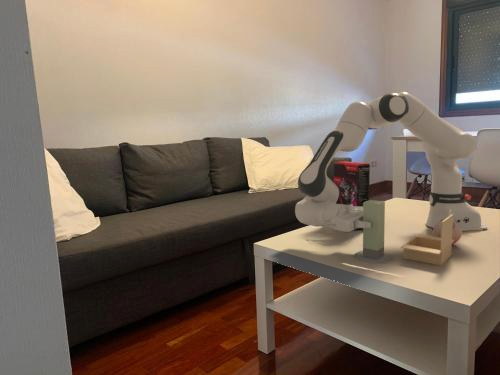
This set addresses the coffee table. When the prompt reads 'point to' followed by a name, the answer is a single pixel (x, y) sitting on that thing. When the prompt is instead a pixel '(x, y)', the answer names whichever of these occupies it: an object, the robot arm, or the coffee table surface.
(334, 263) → the coffee table surface
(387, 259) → the slate mat
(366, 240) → the tall box
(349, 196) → the graphics card box
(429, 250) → the wooden open tray
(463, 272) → the coffee table surface
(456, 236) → the decorative fruit
